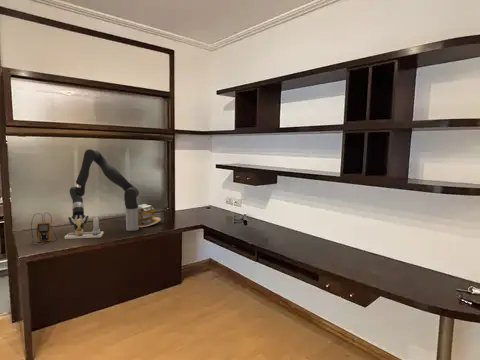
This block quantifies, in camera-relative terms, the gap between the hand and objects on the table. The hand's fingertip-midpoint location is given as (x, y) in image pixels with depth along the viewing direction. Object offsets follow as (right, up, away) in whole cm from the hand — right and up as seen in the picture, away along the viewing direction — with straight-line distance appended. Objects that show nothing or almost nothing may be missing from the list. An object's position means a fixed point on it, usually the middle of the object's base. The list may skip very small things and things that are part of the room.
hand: (79, 228), depth 234 cm
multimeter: (-17, -8, -13) cm, 23 cm away
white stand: (+3, -6, +3) cm, 7 cm away
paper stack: (+36, -2, +40) cm, 54 cm away
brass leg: (-1, -4, +1) cm, 4 cm away
